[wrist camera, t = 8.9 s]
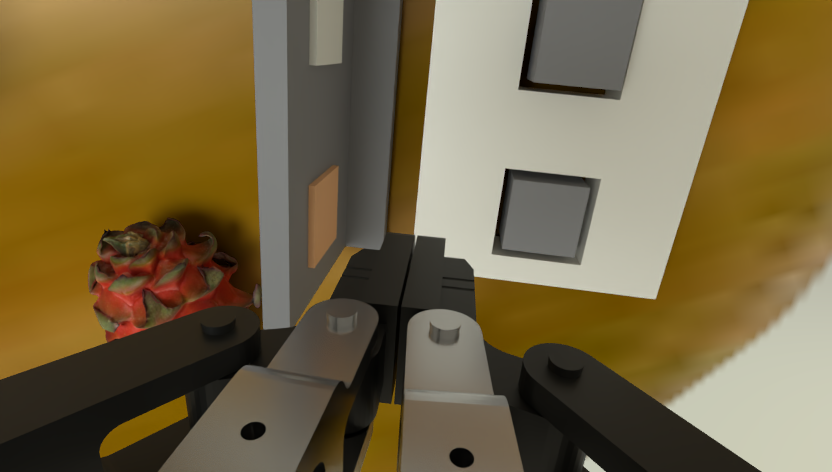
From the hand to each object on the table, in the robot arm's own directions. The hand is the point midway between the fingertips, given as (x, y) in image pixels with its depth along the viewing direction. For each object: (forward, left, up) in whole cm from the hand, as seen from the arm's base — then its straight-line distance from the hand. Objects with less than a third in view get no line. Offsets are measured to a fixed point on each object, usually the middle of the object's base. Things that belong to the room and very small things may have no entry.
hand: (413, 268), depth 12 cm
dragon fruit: (+11, -15, -18) cm, 26 cm away
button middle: (-6, +6, -16) cm, 18 cm away
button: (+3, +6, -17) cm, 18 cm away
